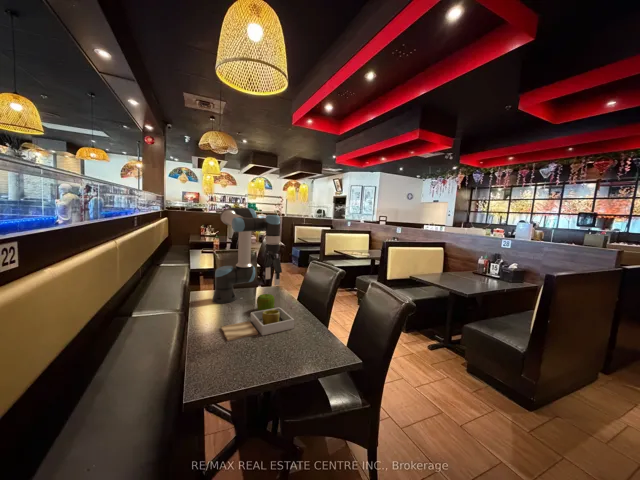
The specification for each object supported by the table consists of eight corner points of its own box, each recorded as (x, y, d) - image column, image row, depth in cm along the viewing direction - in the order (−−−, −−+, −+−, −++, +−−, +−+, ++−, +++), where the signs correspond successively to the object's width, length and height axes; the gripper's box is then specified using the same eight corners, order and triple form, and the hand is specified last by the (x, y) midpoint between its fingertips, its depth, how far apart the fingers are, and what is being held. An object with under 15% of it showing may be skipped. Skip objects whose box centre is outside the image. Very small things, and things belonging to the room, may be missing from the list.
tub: (250, 320, 147) (250, 312, 147) (279, 315, 157) (279, 307, 156) (262, 335, 131) (262, 326, 130) (294, 328, 140) (294, 319, 139)
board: (221, 328, 137) (221, 326, 136) (249, 323, 145) (249, 320, 144) (227, 341, 124) (227, 338, 124) (257, 334, 132) (257, 332, 132)
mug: (277, 328, 135) (274, 309, 136) (260, 331, 137) (257, 313, 139) (286, 323, 147) (283, 305, 148) (270, 326, 149) (267, 309, 151)
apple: (273, 306, 170) (273, 290, 169) (275, 312, 160) (276, 295, 159) (256, 308, 167) (256, 291, 166) (257, 314, 157) (257, 297, 155)
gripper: (258, 241, 147) (258, 277, 149) (274, 246, 126) (274, 288, 128) (271, 240, 151) (270, 275, 153) (288, 246, 130) (288, 286, 132)
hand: (272, 281), depth 141 cm, fingers open, 13 cm apart
